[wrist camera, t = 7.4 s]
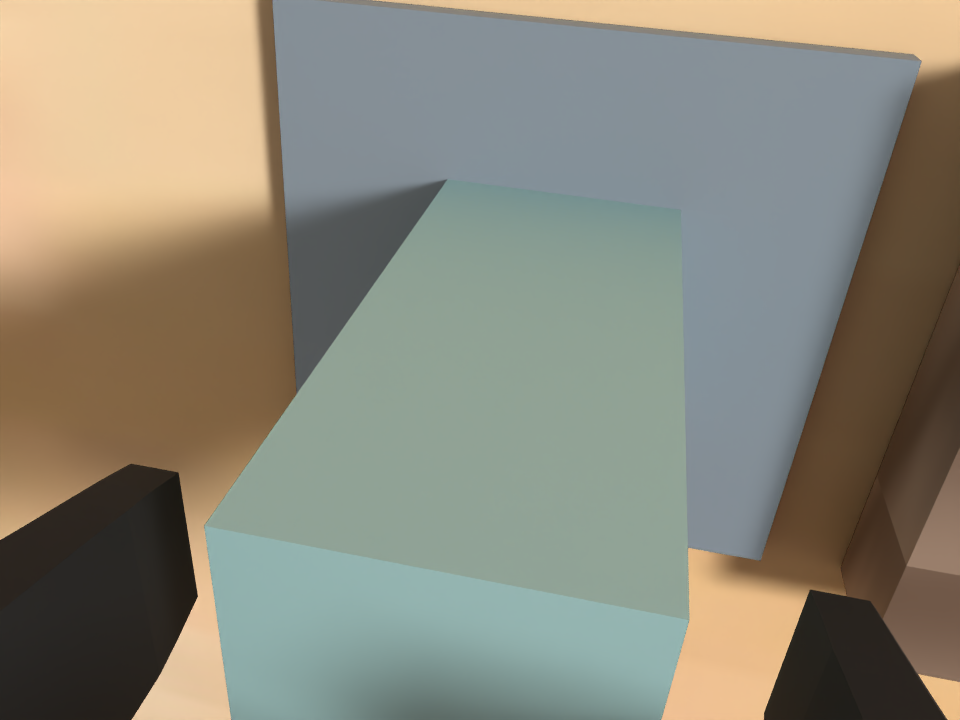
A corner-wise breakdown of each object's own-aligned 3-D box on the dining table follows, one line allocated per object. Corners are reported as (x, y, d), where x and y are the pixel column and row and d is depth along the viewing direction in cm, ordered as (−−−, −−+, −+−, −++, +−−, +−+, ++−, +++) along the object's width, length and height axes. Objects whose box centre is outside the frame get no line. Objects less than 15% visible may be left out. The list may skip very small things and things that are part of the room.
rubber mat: (758, 544, 18) (760, 560, 18) (309, 464, 19) (301, 478, 19) (913, 54, 13) (921, 61, 12) (284, -9, 14) (271, -5, 14)
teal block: (641, 406, 16) (612, 891, 9) (438, 373, 17) (243, 803, 9) (680, 210, 14) (690, 620, 7) (447, 179, 15) (204, 526, 7)
